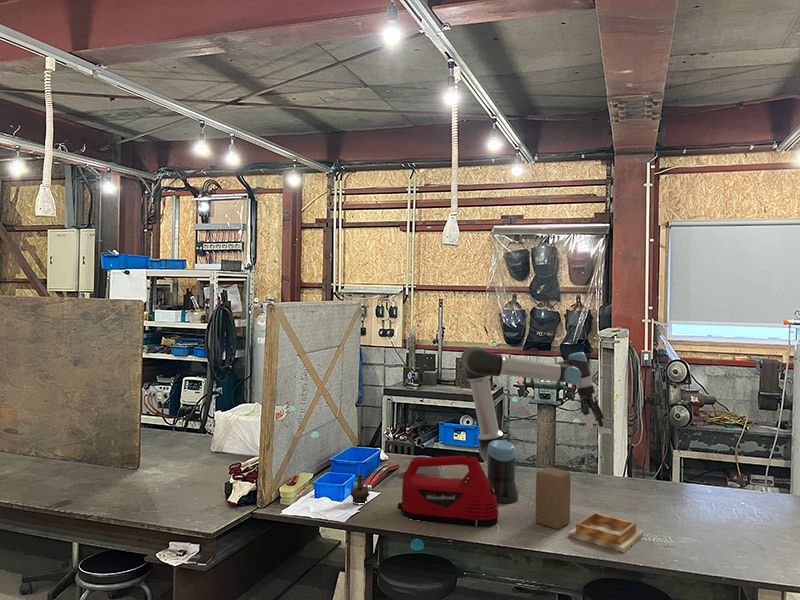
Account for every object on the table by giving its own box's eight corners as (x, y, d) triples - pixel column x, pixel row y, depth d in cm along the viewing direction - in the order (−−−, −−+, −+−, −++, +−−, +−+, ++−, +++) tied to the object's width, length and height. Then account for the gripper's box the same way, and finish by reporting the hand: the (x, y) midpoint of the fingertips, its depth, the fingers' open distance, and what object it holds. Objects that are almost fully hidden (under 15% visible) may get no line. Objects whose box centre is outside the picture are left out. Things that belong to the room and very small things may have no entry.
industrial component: (371, 501, 249) (372, 473, 249) (365, 507, 242) (366, 478, 242) (350, 499, 252) (351, 470, 252) (344, 504, 245) (344, 475, 245)
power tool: (403, 505, 245) (404, 444, 245) (500, 516, 235) (501, 452, 235) (393, 518, 230) (394, 454, 230) (496, 530, 220) (497, 463, 220)
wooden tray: (568, 536, 216) (568, 524, 216) (590, 521, 231) (590, 509, 231) (623, 552, 203) (623, 539, 203) (643, 535, 218) (643, 523, 218)
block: (570, 523, 228) (571, 471, 228) (558, 530, 221) (559, 476, 221) (547, 516, 235) (548, 466, 235) (534, 523, 228) (535, 471, 228)
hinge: (444, 473, 291) (442, 455, 287) (441, 479, 286) (440, 461, 283) (411, 469, 296) (409, 452, 293) (408, 475, 292) (407, 458, 288)
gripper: (603, 386, 261) (615, 433, 261) (582, 381, 286) (593, 424, 285) (587, 390, 260) (599, 438, 260) (567, 385, 285) (578, 428, 285)
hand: (596, 430), depth 273 cm, fingers open, 13 cm apart
